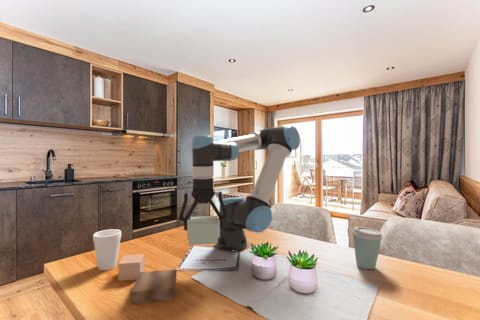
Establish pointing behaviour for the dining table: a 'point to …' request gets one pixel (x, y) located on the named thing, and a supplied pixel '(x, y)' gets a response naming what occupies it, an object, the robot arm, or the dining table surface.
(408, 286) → the dining table surface
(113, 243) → the foam cup
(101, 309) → the dining table surface
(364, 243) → the disposable coffee cup
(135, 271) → the beige cube
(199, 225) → the sage brick
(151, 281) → the walnut base
